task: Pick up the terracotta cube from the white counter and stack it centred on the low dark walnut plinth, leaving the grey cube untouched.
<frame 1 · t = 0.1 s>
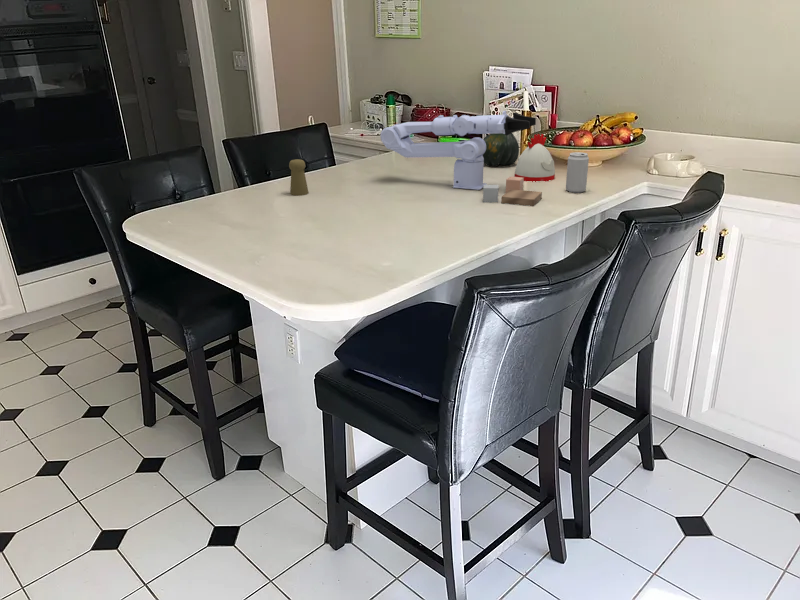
hand: (532, 123, 203), 22 cm above the counter, tool horizontal, fingers open, 7 cm apart
beverage can: (575, 191, 211), on the counter
kitchen timer: (534, 178, 230), on the counter
walnut plinth: (521, 200, 201), on the counter
grey cube: (490, 200, 202), on the counter
terracotta cube: (514, 192, 211), on the counter
squash: (498, 165, 251), on the counter
cork: (299, 194, 214), on the counter
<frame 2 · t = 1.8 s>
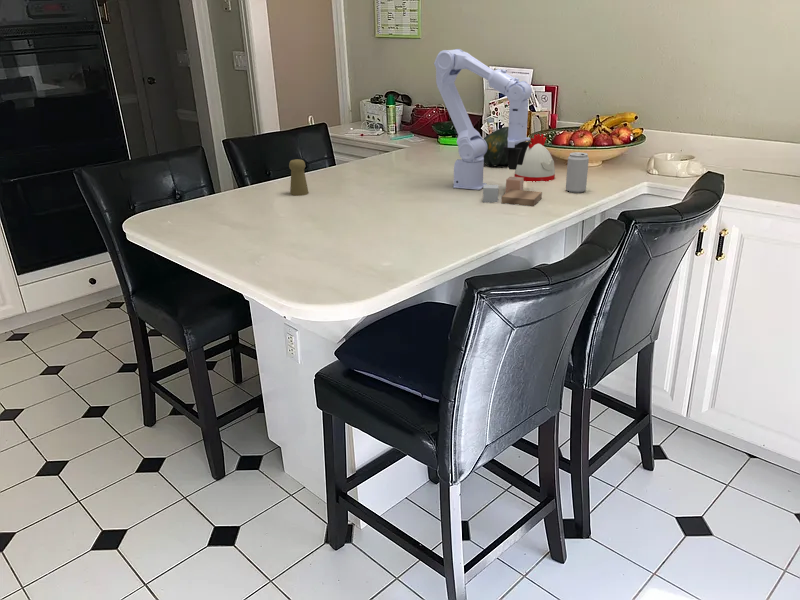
hand: (515, 167, 208), 8 cm above the counter, tool pointing down, fingers open, 7 cm apart
nothing on the counter moved.
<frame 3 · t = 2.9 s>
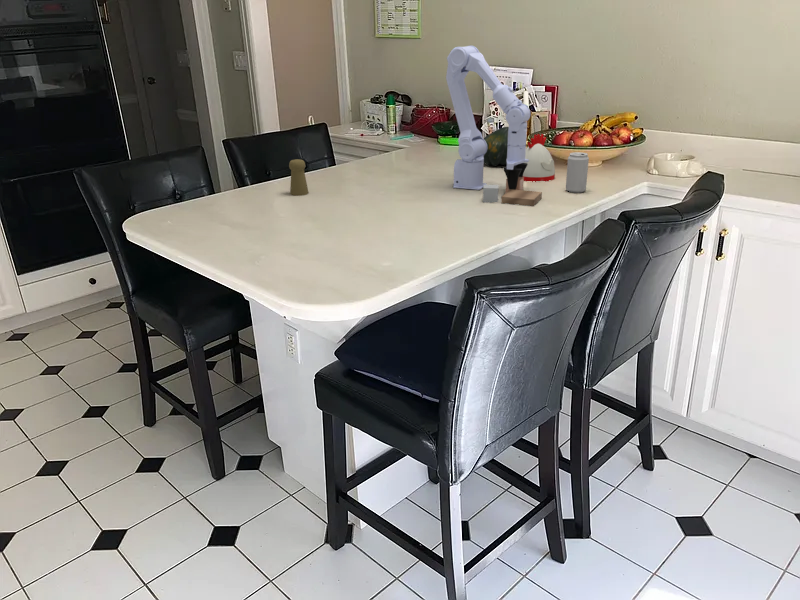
hand: (514, 187, 211), 1 cm above the counter, tool pointing down, fingers closed on terracotta cube, 4 cm apart
terracotta cube: (514, 192, 211), on the counter, touching gripper
everything else where it was.
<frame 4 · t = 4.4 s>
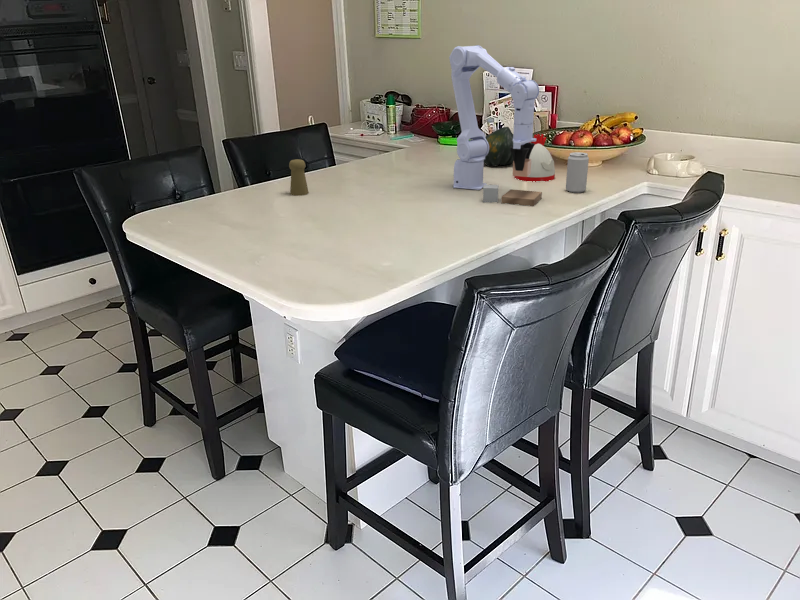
hand: (521, 168, 201), 9 cm above the counter, tool pointing down, fingers closed on terracotta cube, 4 cm apart
terracotta cube: (521, 174, 201), point 7 cm above the counter, touching gripper
everything else where it was.
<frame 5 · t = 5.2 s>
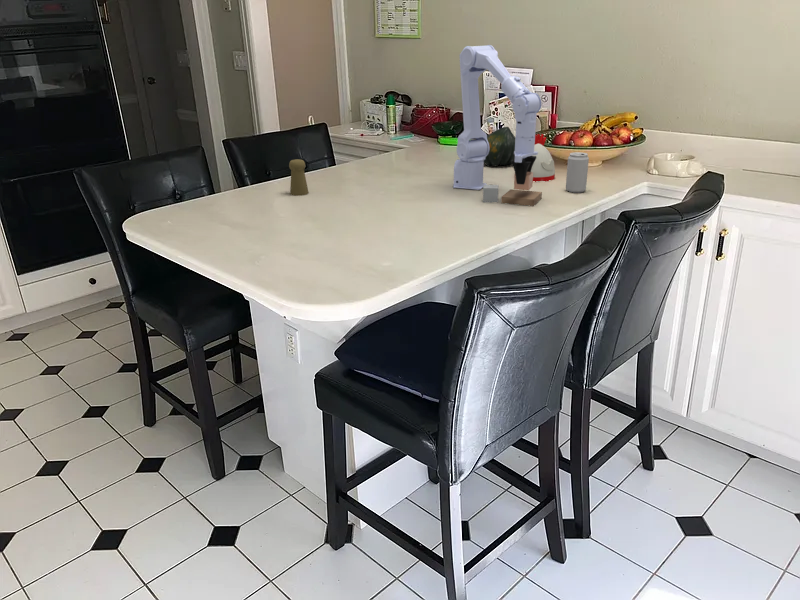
hand: (522, 182, 198), 6 cm above the counter, tool pointing down, fingers closed on terracotta cube, 4 cm apart
terracotta cube: (523, 187, 199), point 4 cm above the counter, touching gripper
everything else where it was.
when the fingers open (5 cm above the counter, at t = 5.9 s): terracotta cube stays where it is, resting on walnut plinth.
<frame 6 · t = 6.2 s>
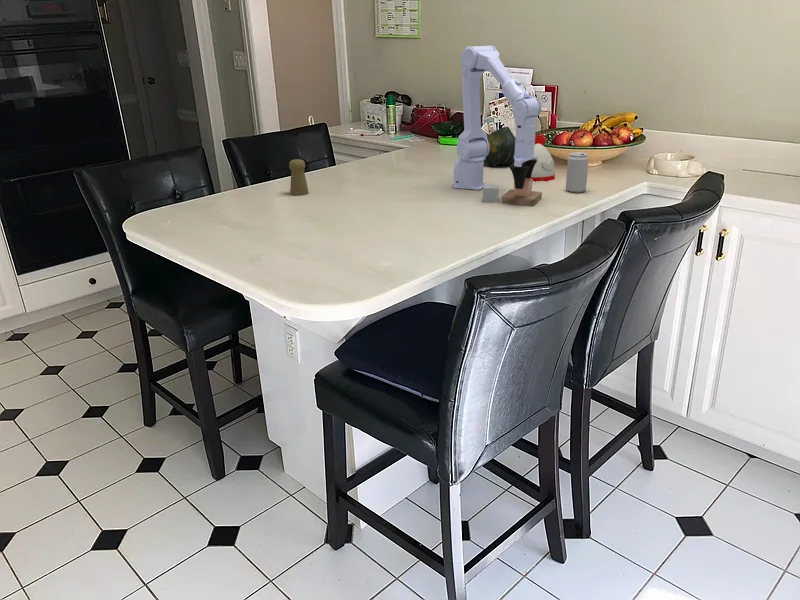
hand: (522, 185, 199), 5 cm above the counter, tool pointing down, fingers open, 7 cm apart
terracotta cube: (522, 194, 200), point 2 cm above the counter, touching walnut plinth
everything else where it was.
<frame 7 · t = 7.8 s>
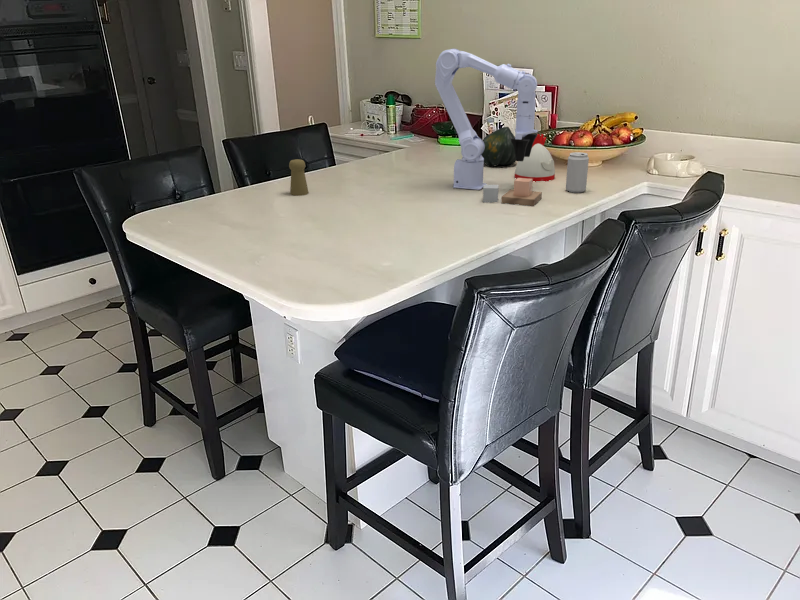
hand: (523, 158, 210), 10 cm above the counter, tool pointing down, fingers open, 7 cm apart
nothing on the counter moved.
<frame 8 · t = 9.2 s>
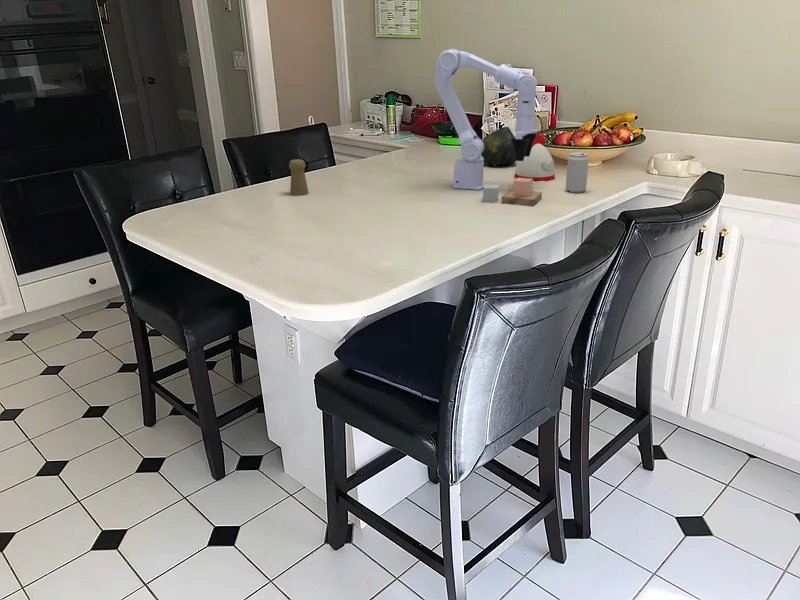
hand: (523, 158, 211), 10 cm above the counter, tool pointing down, fingers open, 7 cm apart
nothing on the counter moved.
at the end: terracotta cube inside the target area on the walnut plinth (0.2 cm from its centre), point 2.0 cm above the walnut plinth's base; terracotta cube tilted 0°; the gripper is holding nothing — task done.
